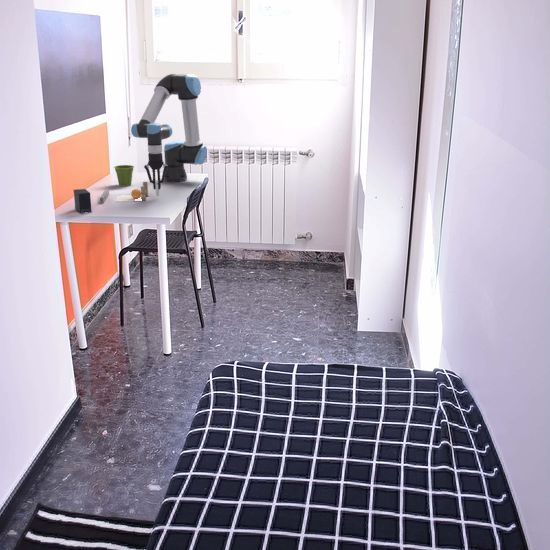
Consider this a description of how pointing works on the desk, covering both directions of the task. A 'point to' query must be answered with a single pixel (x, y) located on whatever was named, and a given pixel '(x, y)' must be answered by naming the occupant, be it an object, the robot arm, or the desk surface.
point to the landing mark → (125, 198)
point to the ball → (136, 193)
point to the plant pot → (124, 174)
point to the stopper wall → (104, 196)
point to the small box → (82, 200)
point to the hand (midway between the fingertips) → (157, 195)
